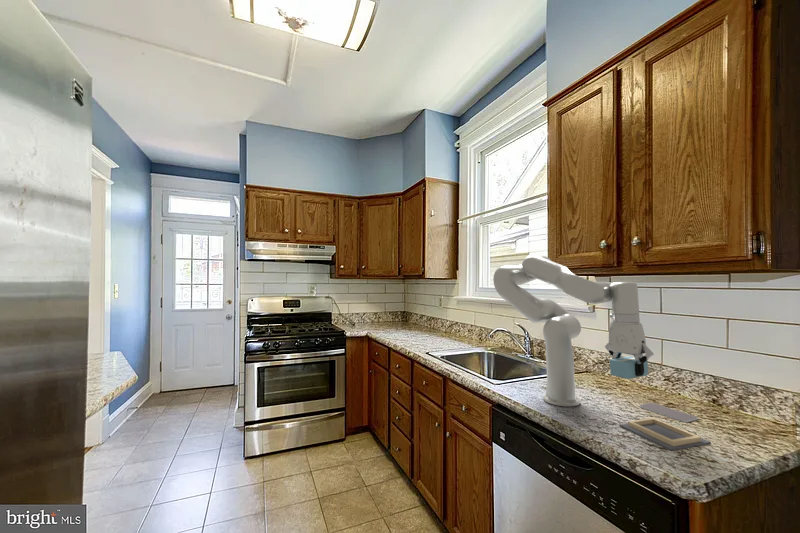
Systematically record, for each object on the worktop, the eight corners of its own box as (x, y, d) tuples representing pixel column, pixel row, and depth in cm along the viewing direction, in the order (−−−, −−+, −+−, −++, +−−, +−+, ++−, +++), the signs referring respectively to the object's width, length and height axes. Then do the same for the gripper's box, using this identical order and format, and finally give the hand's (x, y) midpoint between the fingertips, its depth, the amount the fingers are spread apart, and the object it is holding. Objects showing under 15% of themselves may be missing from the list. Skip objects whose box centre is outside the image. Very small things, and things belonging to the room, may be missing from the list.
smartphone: (686, 421, 110) (637, 405, 124) (686, 424, 110) (638, 408, 124) (700, 417, 112) (651, 402, 126) (700, 420, 112) (651, 404, 126)
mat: (620, 426, 108) (619, 420, 108) (655, 420, 112) (655, 415, 112) (671, 451, 93) (671, 444, 93) (710, 443, 96) (710, 437, 96)
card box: (628, 379, 110) (627, 363, 111) (610, 374, 116) (609, 359, 116) (648, 374, 114) (647, 359, 115) (630, 370, 120) (629, 355, 120)
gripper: (594, 317, 122) (597, 369, 121) (646, 322, 106) (649, 381, 106) (608, 315, 125) (611, 366, 125) (660, 320, 110) (664, 377, 109)
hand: (629, 372), depth 115 cm, fingers closed on card box, 6 cm apart
